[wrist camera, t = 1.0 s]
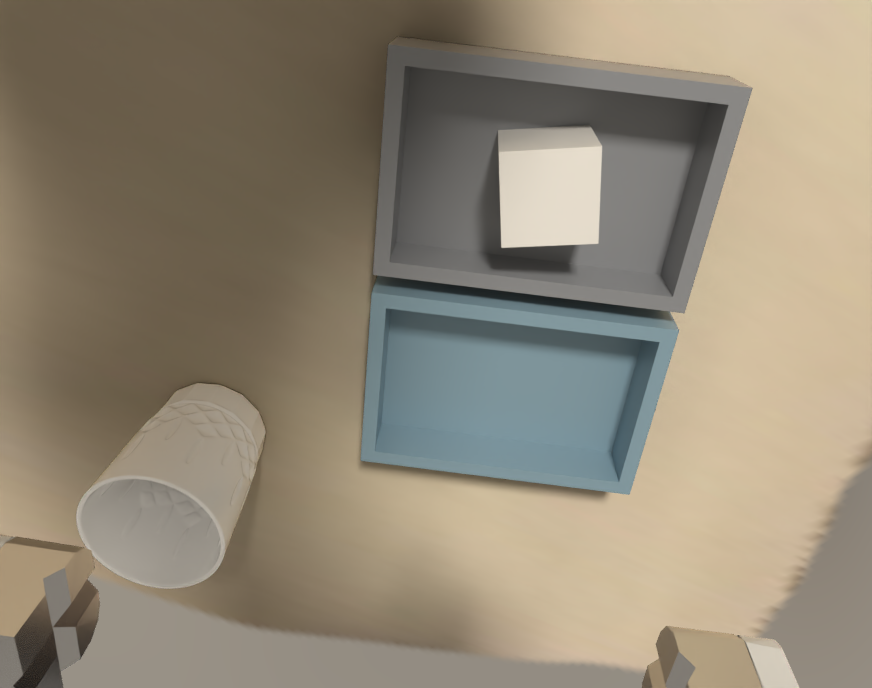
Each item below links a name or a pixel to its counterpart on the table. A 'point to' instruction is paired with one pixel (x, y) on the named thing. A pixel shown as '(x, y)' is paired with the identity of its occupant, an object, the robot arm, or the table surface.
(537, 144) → the white cube
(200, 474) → the white cup
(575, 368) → the bin
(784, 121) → the table surface
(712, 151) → the tray
